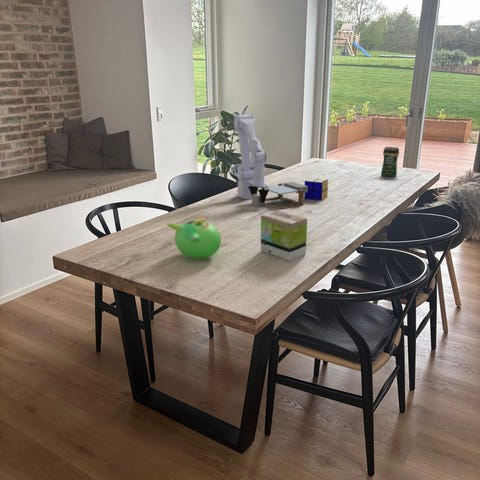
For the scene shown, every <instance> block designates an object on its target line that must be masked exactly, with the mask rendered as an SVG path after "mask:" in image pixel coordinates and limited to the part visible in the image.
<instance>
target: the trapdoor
mask: <svg viewBox="0 0 480 480" xmlns="http://www.w3.org/2000/svg"><path fill="white" fill-rule="evenodd" d="M268 189H269V192H270V193H274V194H277V195H278V194H280V195H282V194H283V195H286V194H287V195H288V194H294V193H296V194H299V190H304V193H306V192H308V186H305V184H303V183H302V184H301V183H298V182H295V181H287V182H284V183H283V185H281V186H278V185H276V186H268Z"/></svg>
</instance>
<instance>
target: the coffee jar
mask: <svg viewBox="0 0 480 480" xmlns="http://www.w3.org/2000/svg"><path fill="white" fill-rule="evenodd" d="M382 155H383V161H382V168H381V171H380V172H381V173H380V175H381V176H383V177H391V178H393V177H397V175H398V158H399V155H400V148H399V147H396V146H395V147H394V146H385V147H384V149H383V152H382Z"/></svg>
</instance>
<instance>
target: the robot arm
mask: <svg viewBox="0 0 480 480" xmlns="http://www.w3.org/2000/svg"><path fill="white" fill-rule="evenodd" d="M255 123H256V117H255V115H254V114H253V113H250V114H235V116H234V118H233V124H234V125H233V126H234V131H235V132H236V133H237V136H238V144H239V152H240V159H241V164H240V165H239V166H237V176H236V177H237V180H238V182H237V195H236V197H239V198H240V199H244V200H250V199H251V200H252V195H253V194H260V201H261V203H265V204H266V201H265V200H266V199H267V196H268V194H269V192H270V191H269V189H268V188H269V185H267V184H266V183H265V163H266V162H267V152H266V151H265V150H264V149H263V148H262V146H261V142H260V140H259V138H257V137H256V133H255Z"/></svg>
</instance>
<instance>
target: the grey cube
mask: <svg viewBox="0 0 480 480" xmlns="http://www.w3.org/2000/svg"><path fill="white" fill-rule="evenodd" d="M251 203H252V205H254V206H256V207H257V206H258V207H259V206H263V205H266V202H265V203H261V201H260V194H259V193H257V194H253V195H252V198H251Z"/></svg>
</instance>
